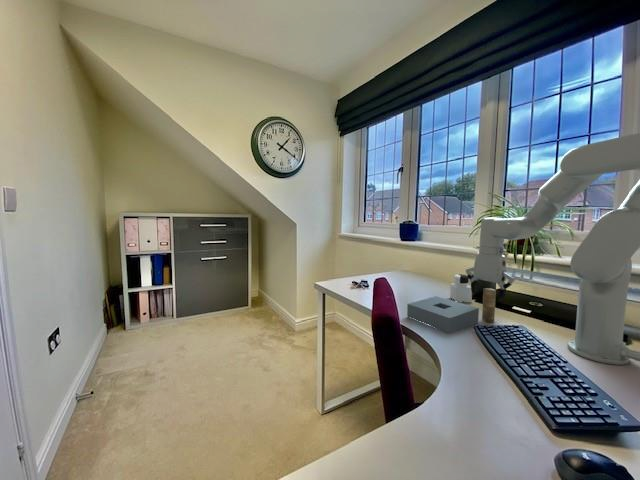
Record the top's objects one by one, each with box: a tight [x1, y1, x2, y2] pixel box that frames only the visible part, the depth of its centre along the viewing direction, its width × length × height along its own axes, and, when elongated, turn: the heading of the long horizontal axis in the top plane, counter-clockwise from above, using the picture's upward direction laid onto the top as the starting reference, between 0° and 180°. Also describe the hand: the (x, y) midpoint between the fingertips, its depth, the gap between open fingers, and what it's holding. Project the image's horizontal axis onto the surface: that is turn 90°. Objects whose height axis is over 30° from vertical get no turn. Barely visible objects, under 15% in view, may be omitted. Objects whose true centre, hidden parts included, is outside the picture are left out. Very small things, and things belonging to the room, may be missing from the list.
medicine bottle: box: [449, 273, 473, 303], centre depth 129 cm, size 7×7×12 cm
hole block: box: [406, 295, 480, 335], centre depth 106 cm, size 18×18×6 cm
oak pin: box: [481, 287, 497, 323], centre depth 104 cm, size 4×4×12 cm
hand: (487, 295), depth 105 cm, fingers open, 9 cm apart
